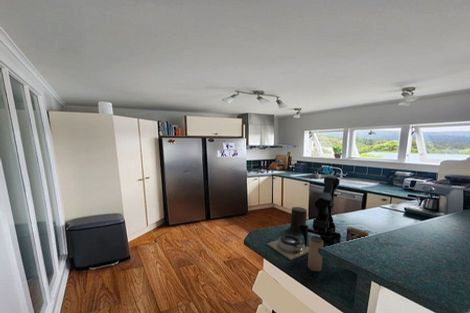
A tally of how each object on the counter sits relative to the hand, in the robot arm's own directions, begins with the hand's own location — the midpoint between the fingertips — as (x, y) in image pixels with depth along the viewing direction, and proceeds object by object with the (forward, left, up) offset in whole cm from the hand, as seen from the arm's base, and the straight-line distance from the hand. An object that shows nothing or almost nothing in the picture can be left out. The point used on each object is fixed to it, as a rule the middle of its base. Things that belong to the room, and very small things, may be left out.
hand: (315, 250), depth 96 cm
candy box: (-24, +6, -8) cm, 26 cm away
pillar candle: (-27, -33, -8) cm, 43 cm away
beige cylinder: (0, 0, -8) cm, 8 cm away
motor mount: (-3, -18, -8) cm, 20 cm away
